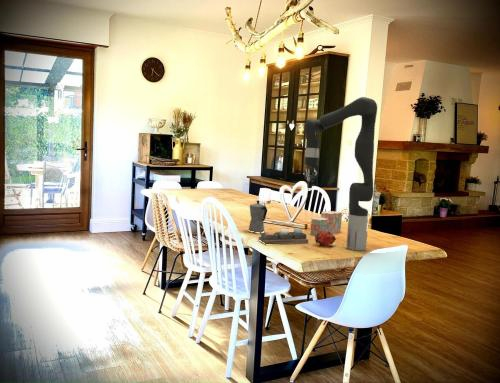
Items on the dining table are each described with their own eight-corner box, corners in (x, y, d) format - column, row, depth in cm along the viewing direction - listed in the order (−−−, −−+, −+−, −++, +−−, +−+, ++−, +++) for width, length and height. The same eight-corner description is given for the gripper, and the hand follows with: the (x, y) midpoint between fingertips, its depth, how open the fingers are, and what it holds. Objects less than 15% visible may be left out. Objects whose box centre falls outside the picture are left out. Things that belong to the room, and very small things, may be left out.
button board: (308, 243, 239) (308, 235, 239) (266, 244, 230) (266, 236, 230) (299, 239, 248) (299, 231, 248) (258, 240, 240) (258, 231, 239)
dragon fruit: (311, 248, 235) (332, 251, 239) (319, 242, 228) (340, 245, 232) (310, 233, 240) (331, 236, 243) (317, 226, 233) (339, 229, 236)
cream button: (289, 236, 238) (289, 230, 237) (281, 236, 236) (282, 230, 236) (285, 234, 242) (286, 228, 241) (278, 234, 240) (278, 228, 240)
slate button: (303, 235, 241) (303, 229, 240) (295, 235, 239) (296, 230, 239) (299, 233, 245) (299, 228, 244) (291, 234, 243) (292, 228, 243)
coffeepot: (243, 230, 265) (244, 198, 263) (256, 229, 270) (258, 198, 268) (258, 235, 252) (260, 202, 250) (272, 234, 257) (274, 202, 255)
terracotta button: (275, 239, 235) (275, 233, 235) (267, 239, 233) (267, 233, 233) (271, 237, 239) (271, 231, 239) (263, 237, 237) (264, 231, 237)
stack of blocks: (318, 236, 260) (320, 214, 258) (310, 234, 264) (311, 213, 263) (340, 232, 275) (342, 212, 273) (331, 230, 279) (333, 210, 278)
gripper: (324, 157, 248) (321, 189, 249) (311, 156, 260) (309, 186, 262) (311, 156, 245) (309, 189, 247) (300, 155, 257) (297, 186, 259)
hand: (309, 188), depth 254 cm, fingers closed
